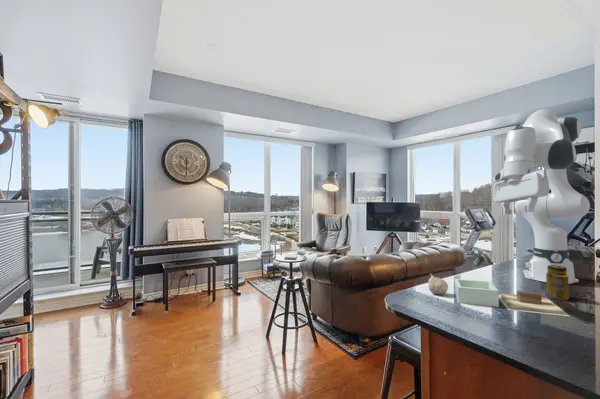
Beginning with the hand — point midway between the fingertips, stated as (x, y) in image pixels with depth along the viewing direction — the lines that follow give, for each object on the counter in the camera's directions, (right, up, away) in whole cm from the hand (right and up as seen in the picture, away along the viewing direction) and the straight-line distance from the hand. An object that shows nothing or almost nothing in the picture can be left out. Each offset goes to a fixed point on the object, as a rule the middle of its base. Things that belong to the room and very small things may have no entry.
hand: (517, 213), depth 96 cm
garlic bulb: (-18, -33, +18) cm, 41 cm away
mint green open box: (-8, -32, +9) cm, 35 cm away
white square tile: (+6, -32, +3) cm, 33 cm away
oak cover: (+6, -32, +3) cm, 32 cm away
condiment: (+21, -32, +9) cm, 39 cm away
